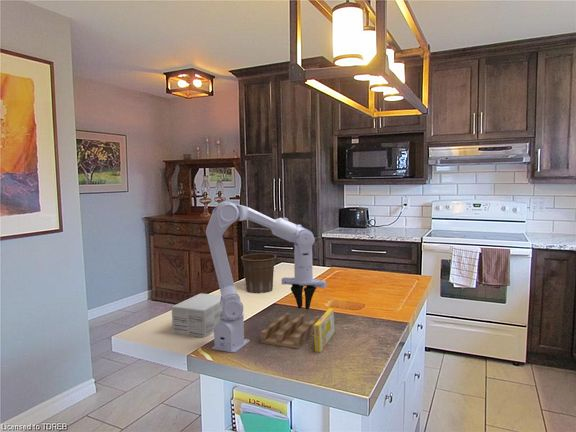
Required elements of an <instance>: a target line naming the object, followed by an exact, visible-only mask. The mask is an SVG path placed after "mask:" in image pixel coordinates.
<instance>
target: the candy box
mask: <svg viewBox="0 0 576 432" xmlns="http://www.w3.org/2000/svg"><path fill="white" fill-rule="evenodd" d="M334 313H335V312H334V308H328V309H327V310H326V311H325V312H324V314H322V315H321V316H320V319H319V320H318V321H317V322H316V323H315V325H314V333H313V337H314V338H313V339H314V340H313V341H314V342H313V343H314V352H316V353H321V352H322V351H323V349H324V348H325V347H326V345H327V344H328V343H329V342H330V340H331V339H332V337H333V336H334V335H335V334H336V330H335V314H334Z"/></svg>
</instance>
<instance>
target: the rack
mask: <svg viewBox="0 0 576 432" xmlns="http://www.w3.org/2000/svg"><path fill="white" fill-rule="evenodd" d="M320 318H321V316H319V315H315V316H314V317H313V318H312V319H310V321H306V320H305V319H306V315H305V314H299V315H298V316H297V317H296V318H294V319H291V312H285V313H284V314H282V315H281V316H279V318H277V319H276V320H274V321H273V322H272V323H270V324H269V325H268V326H266V327H265V328H263V330H261V331H260V344H266V345H272V346H276V347H286V348H291V349H300V348H301V347H302V346H303V344H305V343H306V342H307V340H308V339H309V338H310V337H311V336H312V335H314V325H315V323H316V322H317V321H318V320H319V319H320Z"/></svg>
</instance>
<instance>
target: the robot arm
mask: <svg viewBox="0 0 576 432" xmlns="http://www.w3.org/2000/svg"><path fill="white" fill-rule="evenodd" d="M237 220H238V221H239V222H241V221H247V220H248V221H250V222H253V223H256V224H258V225H261V226H263V227H266V228H267V229H270V230H271V233H272V235H273V236H276V237H278V238H280V239H283V240H285V241H286V242H287V241H288V242H289V243H293V244H294V254H293V256H294V257H293V258H294V259H293V260H294V277H286V276H285V277H282V278H281V285H283V286H284V285H291V287H290V290H291V292H292V294H293V296H294V298H295V302H296V305H297V309H298V310H299V309H301V308H302V307H303V294H304V300H305V302H304V303H305V306H304V307H305V308H304V309H305V310H307V311H308V310H309V309H310V308H311V303H312V300H313V297H314V294H315V291H316V289H317V288H321V289H326V288H327V280H320V279H317V278H313V274H314V273H313V245H314V244H315V241H316V237H314V233H313V232H312V231H311V230H309V229H307V228H305V227H303V226H302V224H296V223H293V222H291V221H289V218H287V217H285V216H284V217H283V218H282V217H279V218H275V219H273V218H271V217H270V216H268V215H265V214H263V213H262V212H260V211H257V210H255V209H253V208H251V207H248V206H246V205H242V204H238V203H233V202H231V201H229V200H224V201H221V202H220V203H218V204H217V206H216V207H215V208H214V209H213V210H212V212H211V216H210V219H209V221H208V224H207V226H206V228H205V229H206V230H205V234H206V235H205V236H206V238H207V243H208V247H209V251H210V255H211V259H212V262H213V266H214V271H215V275H216V279H217V283H218V287H219V291H220V295H221V299H220V304H221V307H222V312H221V314H220V320H219V322H218V323H217V324H216V326H215V328H214V332H213V338H214V340H213V341H214V342H213V344H214V345H213V346H212V347H211V349H212V350H216V351H221V352H227V353H233V354H234V353H236V352H238V351H239V350H240V349H242V348H243V347H244V346H246V345H247V344H248V343H249V342H250V339H247V338H246V339H245V327H244V325H245V321H244V319H245V318H244V304H243V302H241V298H240V296H239V294H238V293H237V289H236V287H235V286H236V285H235V283H234V279H233V274H232V269H231V266H230V262H229V258H228V254H227V250H226V245H225V241H224V237H223V235H224V234H225V233H226V231H227V229H228V227H230V226H231V225H232V224H233V223H235V222H236V221H237ZM303 292H304V293H303Z"/></svg>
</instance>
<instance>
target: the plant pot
mask: <svg viewBox="0 0 576 432" xmlns="http://www.w3.org/2000/svg"><path fill="white" fill-rule="evenodd" d="M276 258H277V255H276V254H273V253H249V254H244V255H242V256H241V257H240V259H241V263H242V267H243V272H244V281H245V290H246V292H248V293H249V294H262V293H263V294H266V293H270V292H271V291H273V290H274V289H273V286H274V285H273V284H274V274H275V273H274V271H275V266H276Z"/></svg>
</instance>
